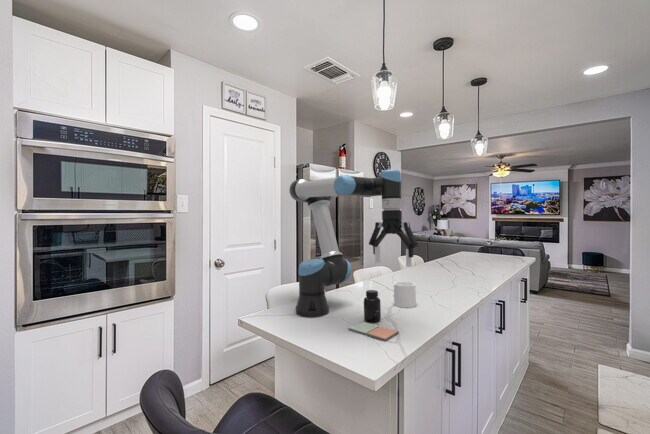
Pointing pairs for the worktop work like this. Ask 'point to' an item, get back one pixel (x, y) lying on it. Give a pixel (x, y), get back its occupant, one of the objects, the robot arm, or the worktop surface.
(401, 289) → the mug
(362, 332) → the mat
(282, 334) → the worktop surface
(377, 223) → the robot arm
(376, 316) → the supplement bottle
